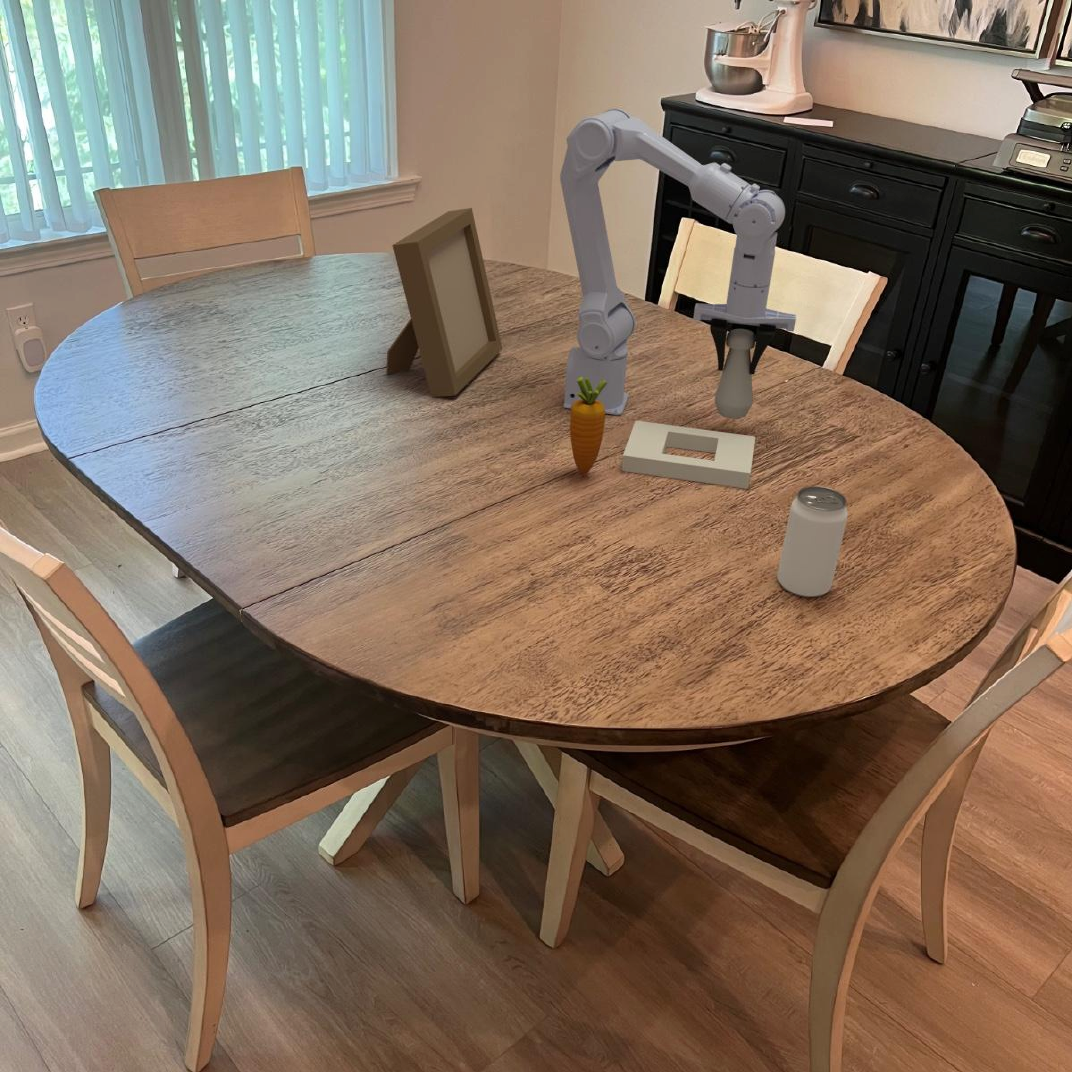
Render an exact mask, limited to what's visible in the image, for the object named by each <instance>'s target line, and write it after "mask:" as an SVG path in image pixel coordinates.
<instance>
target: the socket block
mask: <svg viewBox="0 0 1072 1072" xmlns="http://www.w3.org/2000/svg"><path fill="white" fill-rule="evenodd" d="M631 429H632V430H631V433H630V435H629V439H628V441H627V443H626V446H625V449H624V452H623V454H622V463H621V471H622V472H627V473H632V474H633V473H635V474H641V475H642V474H643V475H649V476H655V477H663V478H670V479H675V480H683V481H690V482H697V483H704V484H711V485H717V486H725V487H732V488H738V489H745V490H748V489H749V486H750V480H751V475H752V474H751V472H752V465H753V458H754V449H755V441H756V436H753V435H747V434H746V435H744V434H739V433H730V432H724V431H723V432H722V431H716V430H711V429H710V430H708V429H701V428H700V429H699V428H694V427H686V426H677V425H671V424H664V423H658V422H657V423H656V422H650V421H642V420H635V421H634V424H633V427H632V428H631ZM667 447H668V448H674V449H675V448H676V449H681V450H682V449H683V450H688V451H689V450H690V451H695V452H696V451H697V452H705V453H712V454H714V460H710V459H704V458H696V457H690V456H684V455H683V456H682V455H674V454H669V453H666V449H667Z"/></svg>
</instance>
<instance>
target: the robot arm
mask: <svg viewBox="0 0 1072 1072" xmlns="http://www.w3.org/2000/svg"><path fill="white" fill-rule="evenodd" d="M566 144H567V148H566V152H565V155H564V159H563V163H562V166H561V170H560V174H559V175H560V176H559V179H560V180H559V181H560V185H561V191H562V196H563V201H564V205H565V210H566V217H567V221H568V226H569V230H570V231H569V232H570V237H571V242H572V246H573V251H574V252H573V253H574V257H575V261H576V266H577V272H578V277H579V282H580V286H581V292H582V298H581V301H580V303H579V304H580V305H579V307H578V312H577V316H578V321H579V323H578V324H579V325H578V329H577V334H576V337H577V338H576V339H577V343H578V346H579V347H578V346H577V347H575V346H574V347H573V346H572V347H571V348H570V350H569V352H568V356H567V360H566V369H565V370H566V371H565V382H564V383H565V385H564V386H565V387H564V402H563V408H565V409H570V410H571V405H572V403H574V402H575V401H577V400H580V399H581V398H580V397H579V396H578V395H577V393H579V392H581V390H580V387H579V385H578V382H577V379H578V378H580V377H583V379H584V381H585V379H586V378H588V379H589V380H590V382H591V385H592V388H593V392H594V391H595V390H596V389H597V387H598V385H599V384H600V382H601V381H602V380H604V381H606V382H607V384H606V385H605V387H604V388H603V389H602V391H601V392H600V394H599V395H598V397H597V398H596V400H597V401H600V402H602V403H603V405H604V409H605V414H607V415H608V414H610V415H615V416H621V415H623V413H624V410H625V407H626V404H627V402H628V400H629V397H630V394H629V393H626V392H625V388H626V387H625V386H626V377H627V375H626V374H627V366H628V365H627V363H628V354H629V348H628V344H627V342H628V339H629V338H631V337H632V335H633V334H634V331H635V329H636V318H635V315H634V313H633V311H632V310H631V308H630V307H629V305H628V303H627V299H626V295H625V293H624V292H623V291H622V290H621V289H620V288H619V287H618V284H617V279H616V273H615V269H614V264H613V257H612V252H611V247H610V242H609V236H608V231H607V225H606V219H605V214H604V210H603V204H602V198H601V193H600V187H599V181H600V180H601V178H602V177H603V176H604V174H605V173H606V171H607V170H608V169H609V167H610V166H611V164H612V163H613V162H614V161H615V162H621V161H634V160H641V161H643V162H644V163H647V164H648V165H649V166H652V167H653V168H654V169H655V168H656V169H657V170H658V171H661V172H662V173H664V174H666V175H668V176H669V177H671V178H673V179H675V180H677V181H678V182H680V183H681V184H683V185H685V186H687V187H688V189H689V192H690V197H691V199H692V201H694V202H695V203H697V204H698V205H700V206H702V208H705V209H706V210H708V211H710V212H711V213H713V215H715V216H716V217H719V218H720V219H722V220H723V221H724V222H727V223H728V224H730V225H732V226H733V229H734V233H735V234H736V239H735V240H736V241H735V246H734V249H733V255H732V263H731V270H730V276H729V284H728V285H729V286H728V292H727V297H726V303H697V302H696V303H695V306H694V312H693V320H694V321H699V322H700V321H702V320H705V321H711V322H710V326H709V330H710V334H711V336H712V339H713V342H714V345H715V350H716V355H717V356H716V357H717V371H720V372H723V368H724V365H725V360H726V359H725V355H726V338H727V334H728V329H729V323H730V324H739V325H745V326H746V325H748V326H756V327H757V332H756V342H755V346H754V348H753V353H752V354H753V355H752V357H751V367H750V374H752V376H753V375H755V371H756V368H757V367H758V364H759V362H760V359H761V358H762V356H763V354H764V352H765V351H766V349H767V348H768V346H769V344H770V343H771V342H772V341H773V339H774V337H775V335H776V329H782V330H786V332H794V331H795V326H796V321H797V314H795V313H787V312H782V311H779V310H775V309H769V308H767V304H768V299H769V293H770V287H771V280H772V275H773V269H774V262H775V257H776V256H775V255H776V246H777V237H778V232H776V231H777V230H778V229H779V228H780V227H781V225H782V224H783V222H784V220H785V217H786V216H785V215H786V207H785V204H784V202H783V200H782V198H781V197H779V195H777V194H776V193H775V191H773V190H770V189H762V190H761V189H760V188H761V187H760V185H758V184H756V183H753V184H750V183H748V182H747V181H745V180H744V179H742V178H741V177H739V176H737V175H736V174H734V173H733V172H731V170H732V166H730V164H728V163H725V162H724V163H722V164H721V165H720V164H718V163H717V162H711V163H708V164H703V165H702V164H701V163H700V162H699V161H697V160H696V159H694V158H693V157H692V156H690V155H689V154H687V153H686V152H685V151H683V150H682V149H680V148H679V147H677V146H676V145H674V144H673V143H672V142H671V141H669V140H668V139H667V138H665V137H664V136H662V135H661V134H660V133H658V132H657V131H655V130H654V129H652V128H651V127H650V126H649V125H648V124H646V123H645V121H643V120H642V119H641V118H638V117H635V116H631V115H630V114H629V113H628V112H627V111H625V110H624V109H621V108H617V107H616V108H609V109H606V110H605V111H603V112H601V113H599V114H596V115H594V116H588V117H585V118H583V119H581V120H579V122H578V123H577V124H576V125H575V126H574V128H573V129H572V131H571V132H570V133H569V135H568V136H567V137H566ZM585 384H586V383H585ZM586 387H587V385H586ZM587 390H588V387H587ZM588 392H589V391H588ZM581 393H582V392H581Z"/></svg>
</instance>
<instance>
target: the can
mask: <svg viewBox="0 0 1072 1072" xmlns="http://www.w3.org/2000/svg"><path fill="white" fill-rule="evenodd" d="M847 501H848V500H847V498H846V497H845V495H843V494H842V492H839V491H838V490H835V489H834V488H830V487H826V486H822V485H819V486H818V485H811V486H806V487H802V488H801V489H799V490H798V491H797V494H796V497H795V498H794V499H793V500H792V502H791V506H790V510H789V514H788V515H789V516H788V519H787V524H786V525H787V526H786V530H785V534H784V540H783V545H782V550H781V554H780V555H781V556H780V560H779V566H778V571H777V581H778V582H779V584H780V586H781V587H782V588H783V589H784V590H785V591H787V592H789V593H790V594H793V595H794V596H798V597H799V596H800V597H803V598H816V597H821V596H823V595H825V594H827V593H828V592H829V591H830V590H831V588H832V585H833V583H834V582H833V581H834V578H835V573H836V569H837V565H838V564H837V563H838V559H839V555H840V552H841V547H842V543H843V539H844V534H845V530H846V524H847V521H848V509H847V503H848V502H847Z"/></svg>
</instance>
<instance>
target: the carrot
mask: <svg viewBox="0 0 1072 1072" xmlns="http://www.w3.org/2000/svg"><path fill="white" fill-rule="evenodd" d="M577 382H578V385H579V387H580V390H581V392H582V393H581V392H579V393H577V395H578V396H579V397H580V398H581V399H580V400H577V401H575V402H574V403H572V405H571V409H570V413H569V414H570V416H569V417H570V418H569V419H570V421H569V429H570V430H569V433H570V434H569V435H570V444H571V451H572V457H573V461H574V463H575V467H576V468H577V470H578V472H579V474H580V476H583V477H584V476H586V475H587V474H588V473H589V472H590V470H592V468H593V467H594V465H595V463H596V460H597V459H598V455H599V452H600V450H601V446H602V442H603V439H604V438H603V437H604V430H605V422H606V413H605V409H604V405H603V403H602V402H600V401H597V400H596V398H597V397H598V395H599V394H600V392H601V391H602V389H603V388H604V387H605V385H606V384H607V382H606V381H604V380H602V381H601V382H600V384H599V385H598V387H597V389H596V390H595V391H594V392H593V388H592V385H591V382H590V380H589V379H588V378H586V379H585V381H584V379H583V377H580V378H578V379H577ZM585 383H586V384H585ZM586 385H587V387H588V390H587V387H586ZM588 391H589V392H588Z"/></svg>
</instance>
